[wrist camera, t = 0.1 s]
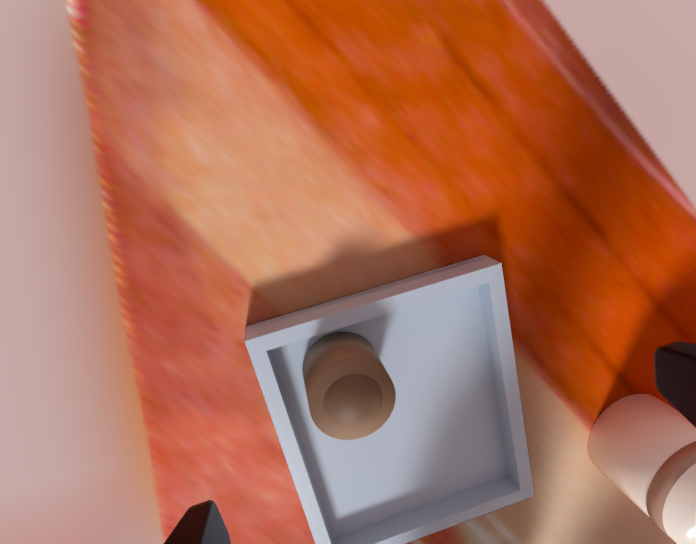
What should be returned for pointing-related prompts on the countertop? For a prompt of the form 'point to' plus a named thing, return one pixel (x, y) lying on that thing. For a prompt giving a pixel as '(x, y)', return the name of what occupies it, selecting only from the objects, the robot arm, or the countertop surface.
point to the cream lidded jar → (650, 460)
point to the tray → (406, 408)
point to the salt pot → (347, 386)
